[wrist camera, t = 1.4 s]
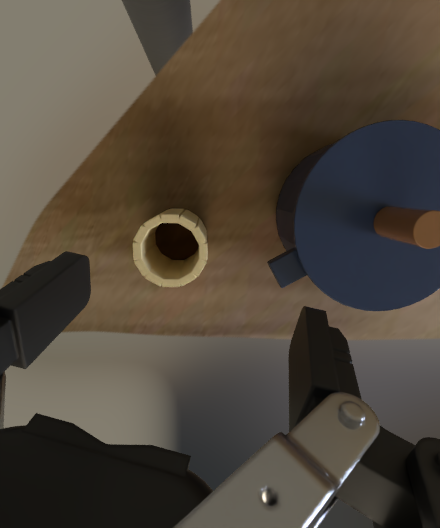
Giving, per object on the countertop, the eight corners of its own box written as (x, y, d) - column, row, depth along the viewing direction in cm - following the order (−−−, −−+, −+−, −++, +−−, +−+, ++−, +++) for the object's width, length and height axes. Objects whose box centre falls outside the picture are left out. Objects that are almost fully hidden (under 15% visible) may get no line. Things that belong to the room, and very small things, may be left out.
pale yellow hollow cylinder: (137, 226, 33) (118, 237, 26) (188, 197, 33) (183, 200, 26) (167, 276, 35) (157, 299, 27) (217, 248, 34) (220, 265, 27)
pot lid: (258, 183, 25) (274, 181, 19) (434, 84, 24) (508, 50, 18) (335, 335, 28) (370, 375, 22) (494, 254, 27) (574, 273, 21)
